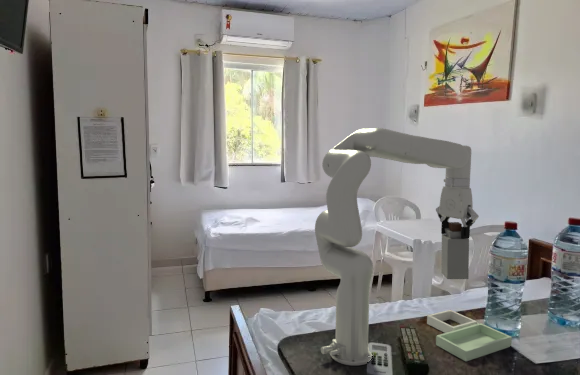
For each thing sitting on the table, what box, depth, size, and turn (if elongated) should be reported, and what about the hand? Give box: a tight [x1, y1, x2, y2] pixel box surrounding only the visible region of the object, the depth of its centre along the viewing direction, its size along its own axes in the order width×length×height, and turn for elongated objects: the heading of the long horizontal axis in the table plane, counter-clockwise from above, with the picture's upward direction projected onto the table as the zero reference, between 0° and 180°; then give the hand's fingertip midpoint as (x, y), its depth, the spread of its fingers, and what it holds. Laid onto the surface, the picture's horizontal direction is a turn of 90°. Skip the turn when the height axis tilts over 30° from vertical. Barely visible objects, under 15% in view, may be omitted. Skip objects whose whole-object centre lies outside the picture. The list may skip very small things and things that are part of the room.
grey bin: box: [426, 309, 478, 334], centre depth 139 cm, size 11×11×3 cm
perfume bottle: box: [441, 221, 470, 280], centre depth 137 cm, size 7×7×18 cm
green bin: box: [435, 323, 513, 362], centre depth 126 cm, size 20×11×3 cm, turn 117°
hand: (454, 235), depth 136 cm, fingers closed on perfume bottle, 7 cm apart
